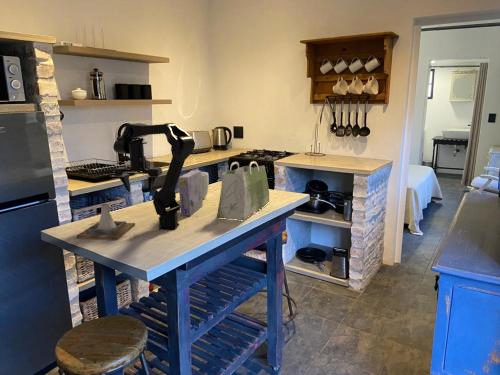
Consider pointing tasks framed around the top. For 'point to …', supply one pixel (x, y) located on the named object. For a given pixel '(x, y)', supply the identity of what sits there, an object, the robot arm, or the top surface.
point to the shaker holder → (106, 231)
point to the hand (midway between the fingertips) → (139, 191)
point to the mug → (204, 184)
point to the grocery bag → (243, 192)
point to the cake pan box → (190, 192)
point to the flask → (106, 219)
